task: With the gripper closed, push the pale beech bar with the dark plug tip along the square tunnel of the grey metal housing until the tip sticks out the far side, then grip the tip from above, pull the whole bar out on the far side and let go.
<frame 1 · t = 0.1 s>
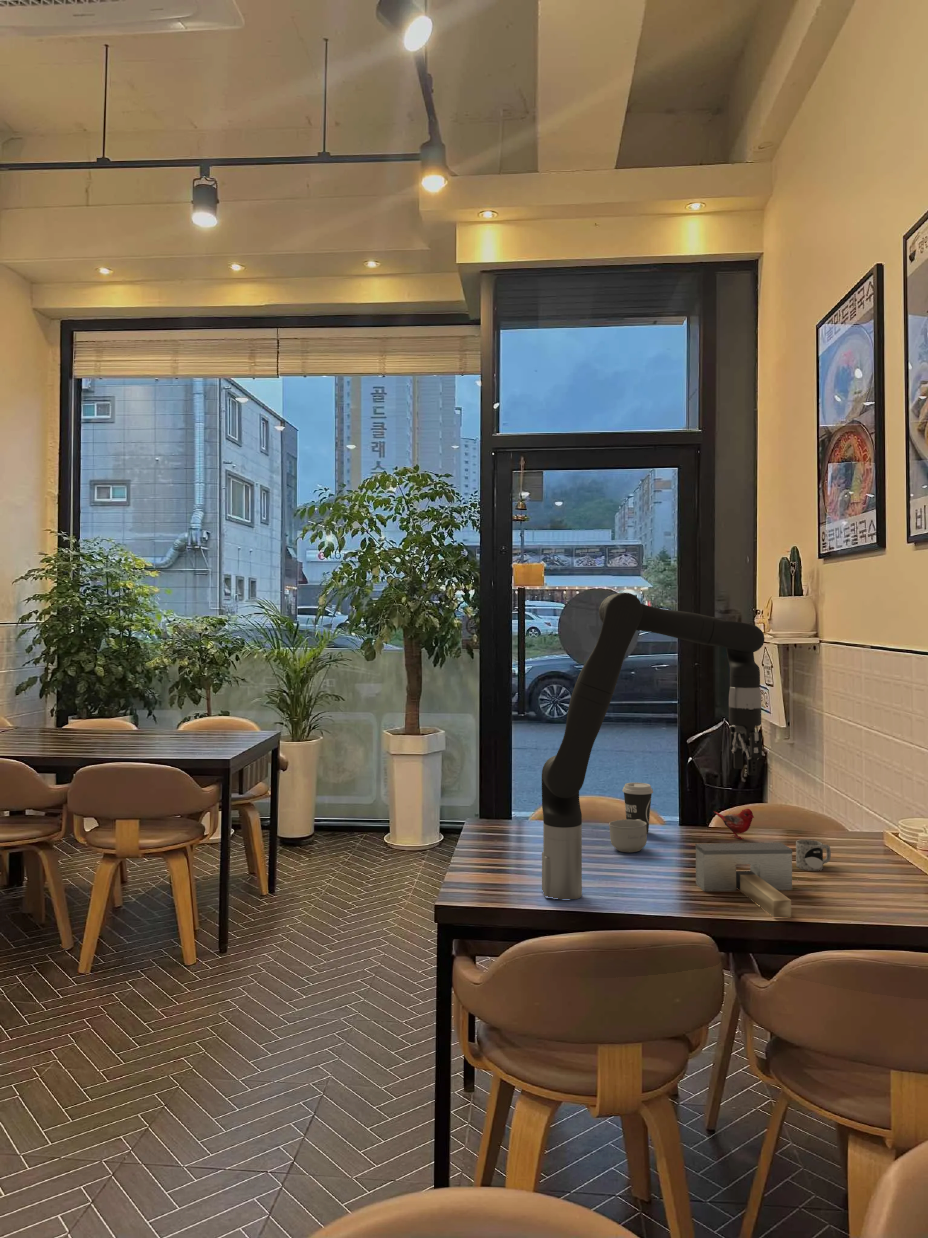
hand: (745, 772, 198), 29 cm above the table, tool pointing down, fingers open, 8 cm apart
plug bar: (761, 902, 191), on the table
decorative bird figurine: (733, 837, 250), on the table
coffee cup: (637, 833, 256), on the table
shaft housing: (743, 887, 202), on the table
teacup: (631, 849, 237), on the table
mug: (814, 867, 219), on the table
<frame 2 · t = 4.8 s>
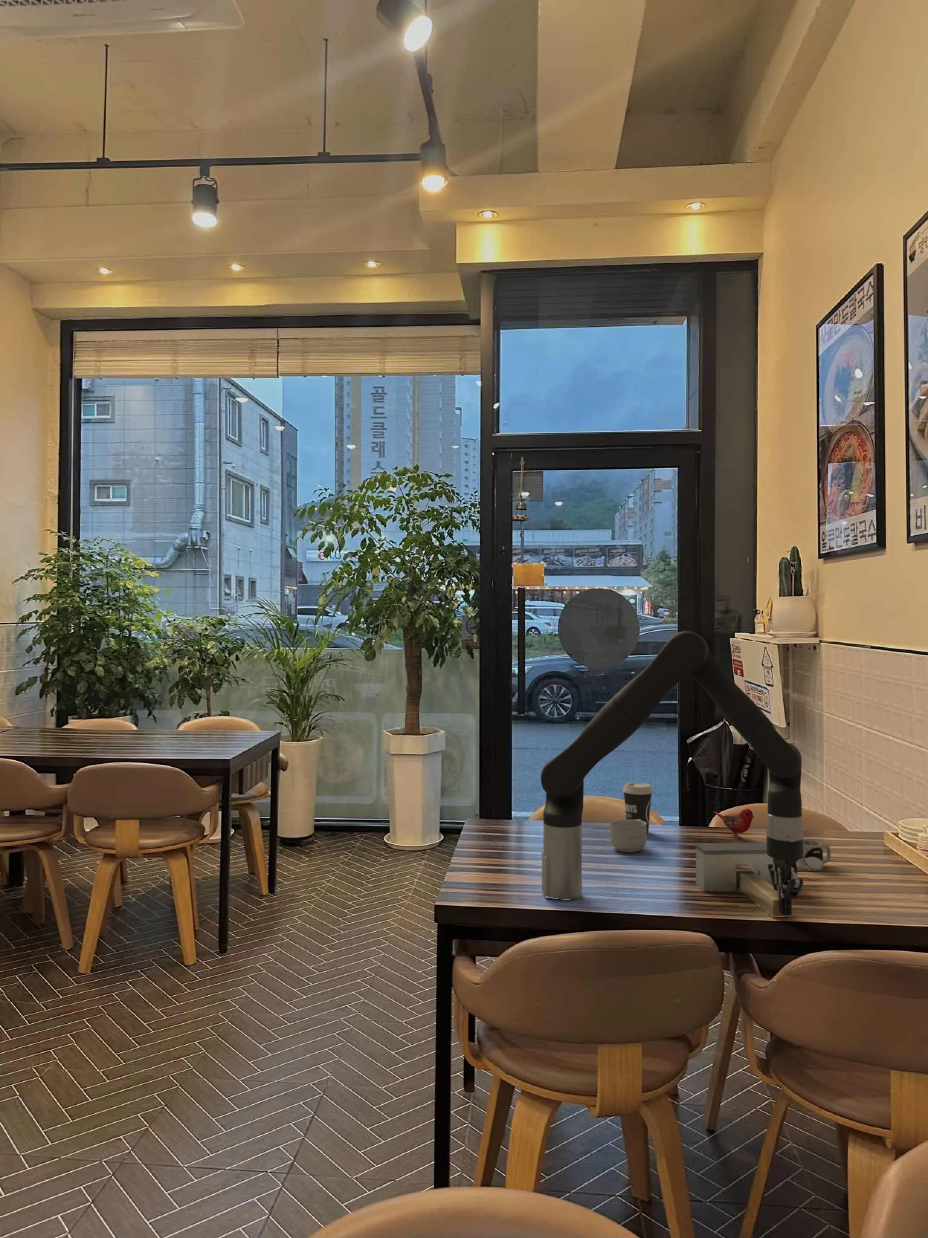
hand: (785, 914, 178), 2 cm above the table, tool pointing down, fingers closed
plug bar: (761, 901, 191), on the table, touching gripper
everything else where it was.
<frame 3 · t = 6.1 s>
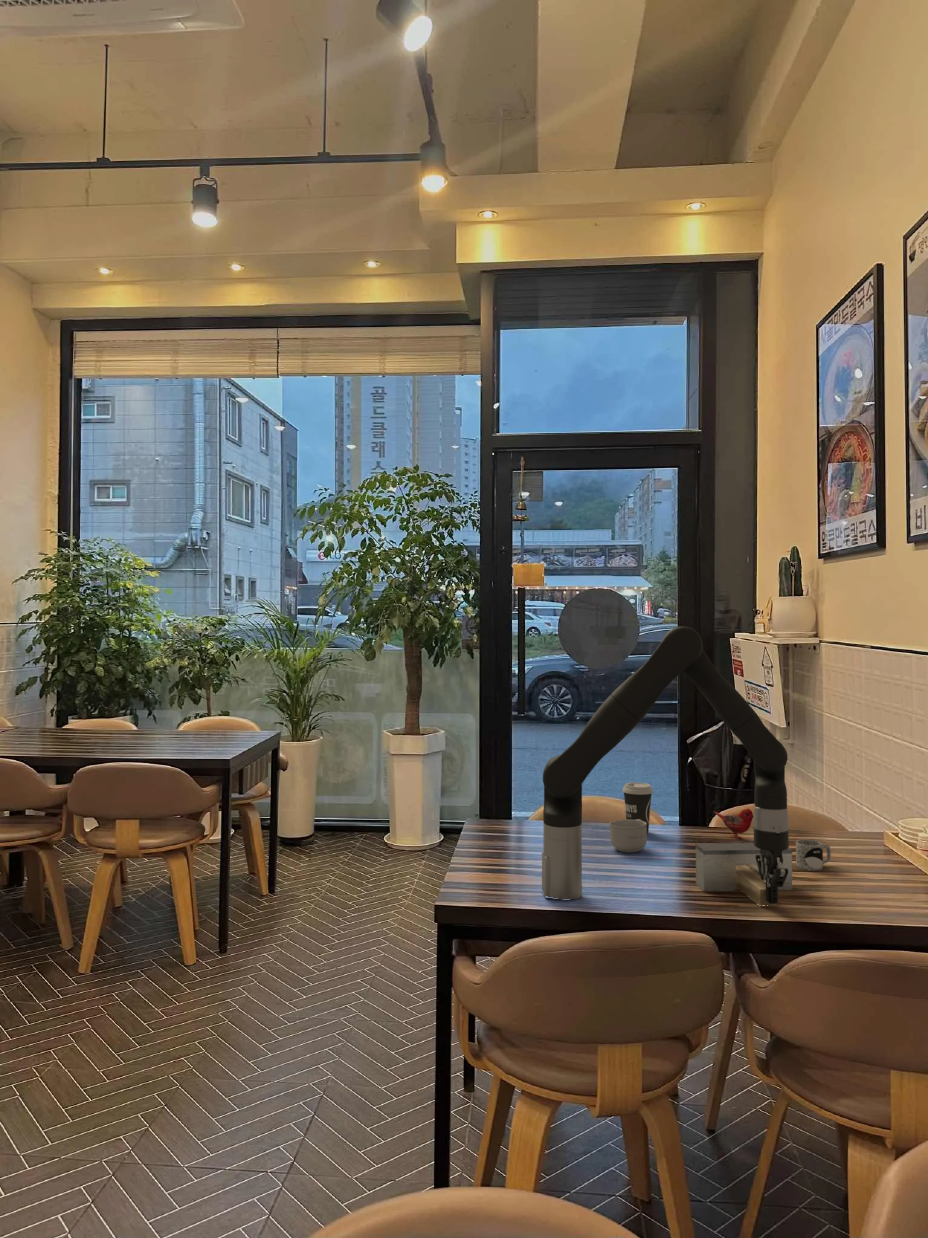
hand: (771, 902, 185), 2 cm above the table, tool pointing down, fingers closed
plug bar: (749, 891, 198), on the table, touching gripper
everything else where it was.
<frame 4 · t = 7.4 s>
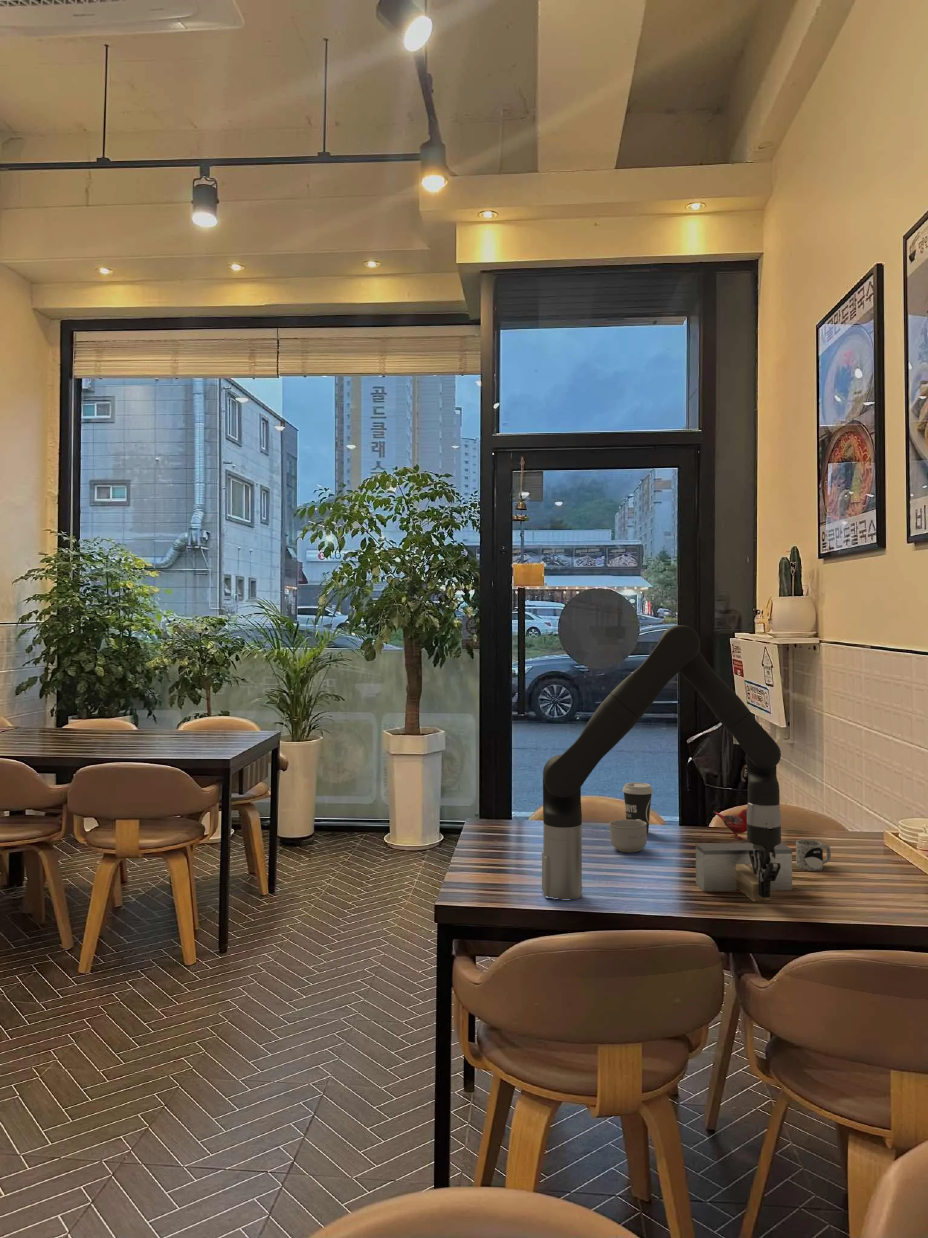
hand: (764, 896, 189), 2 cm above the table, tool pointing down, fingers closed
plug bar: (743, 886, 202), on the table, touching gripper
everything else where it was.
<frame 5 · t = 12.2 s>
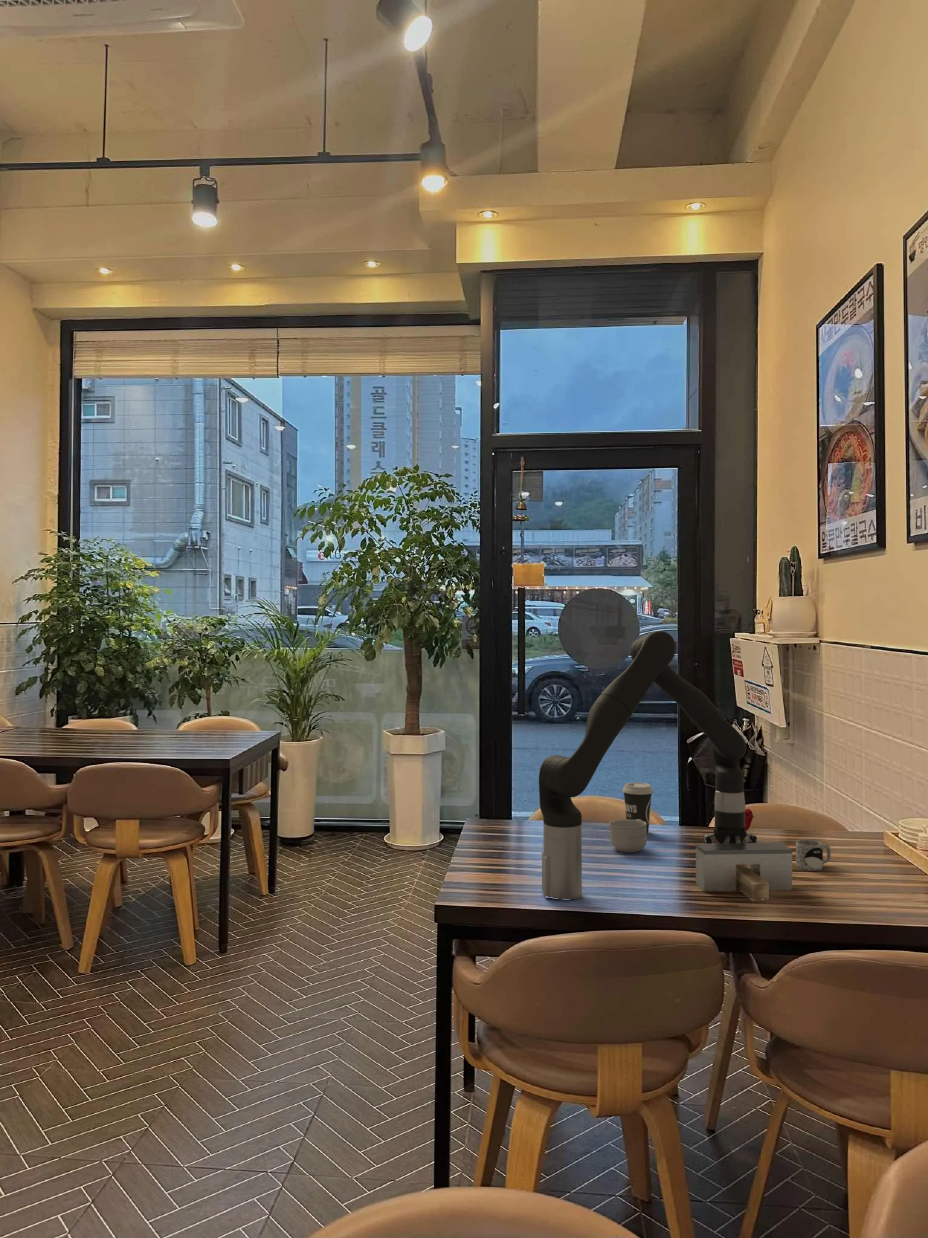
hand: (730, 874, 211), 1 cm above the table, tool pointing down, fingers closed on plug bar, 4 cm apart
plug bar: (742, 886, 202), on the table, touching gripper
everything else where it was.
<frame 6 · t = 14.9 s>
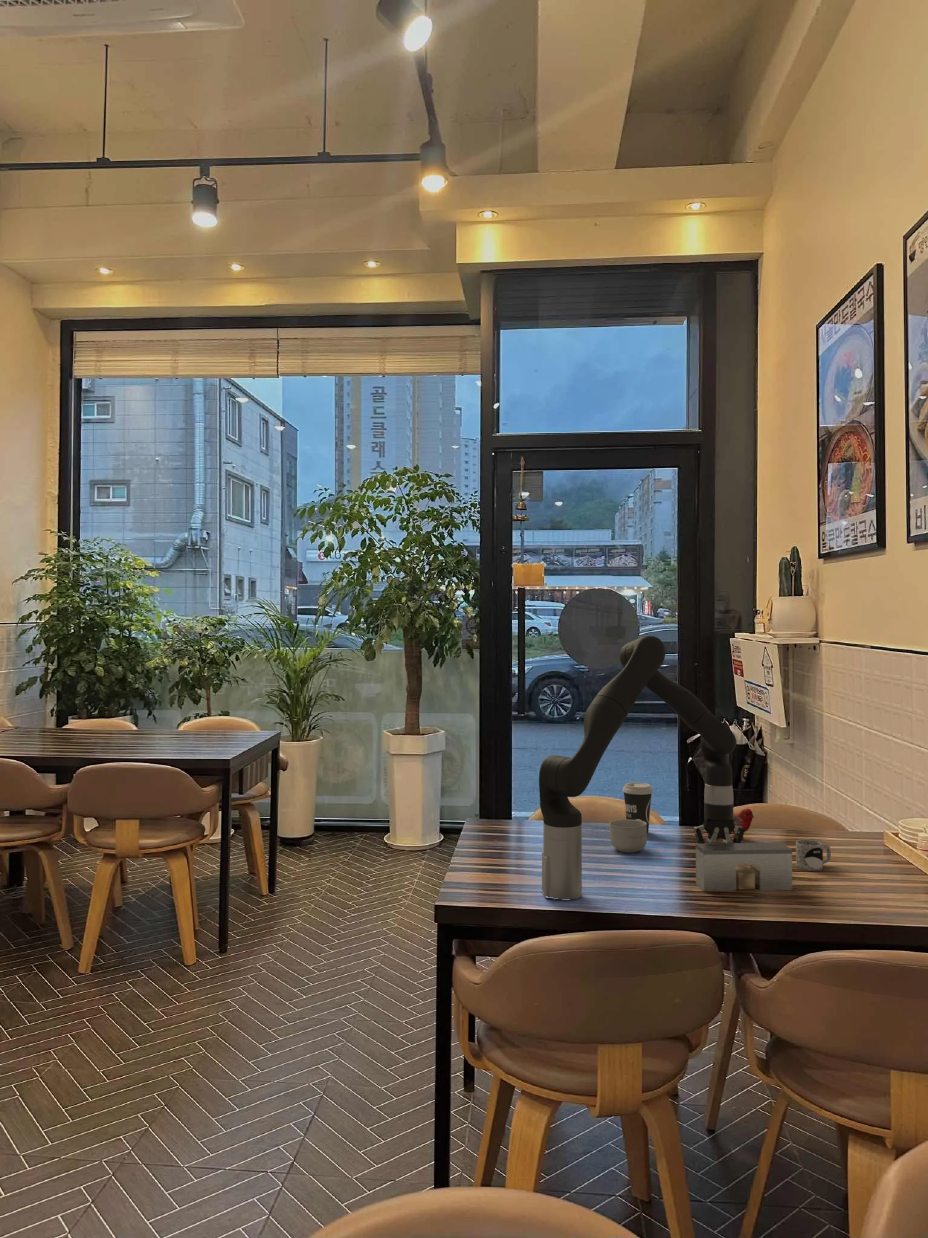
hand: (719, 864, 219), 1 cm above the table, tool pointing down, fingers closed on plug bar, 4 cm apart
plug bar: (730, 875, 211), on the table, touching gripper
everything else where it was.
when the fingers open (1 cm above the table, at t = 17.4 s): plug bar stays where it is, on the table.
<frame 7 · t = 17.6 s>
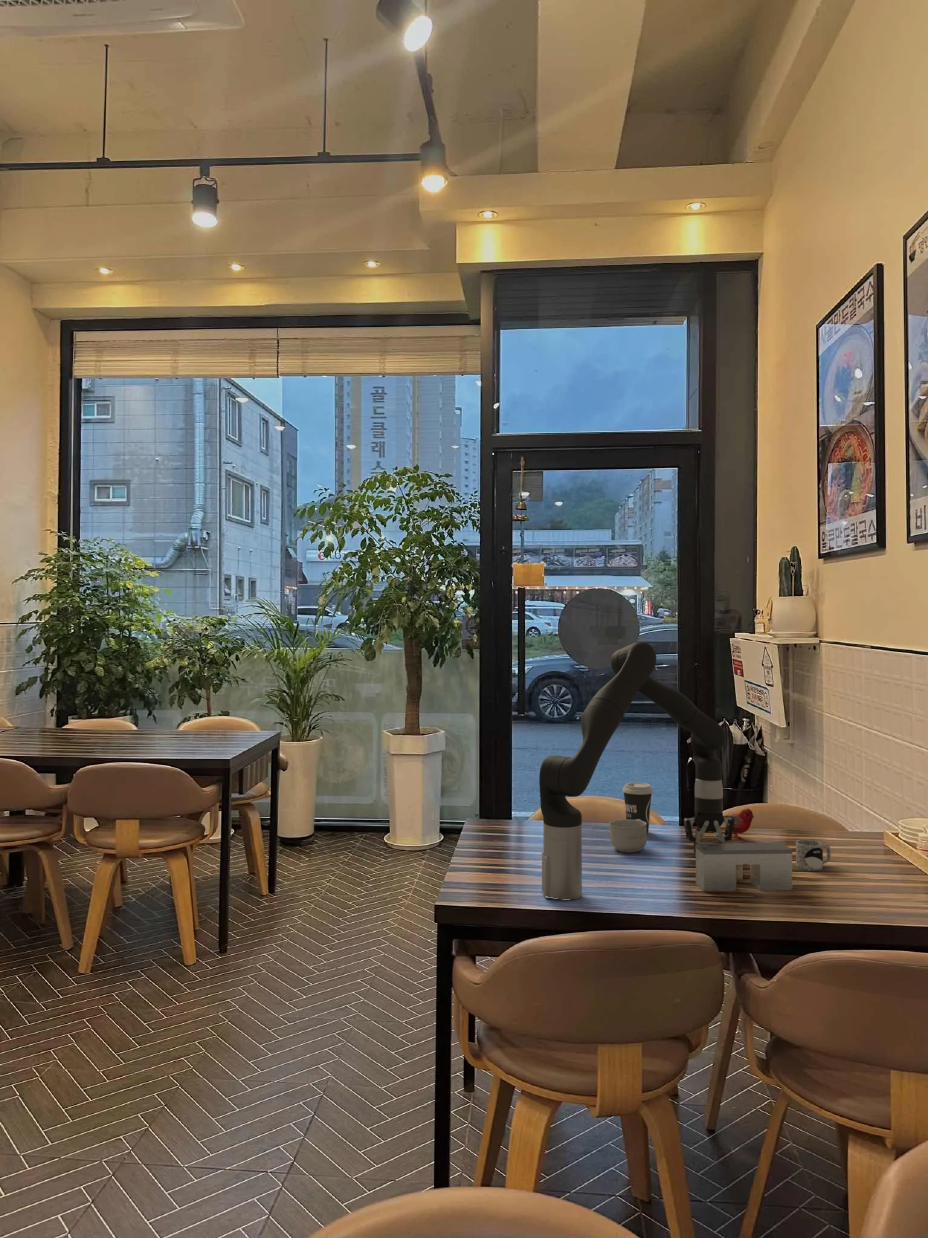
hand: (708, 855, 226), 1 cm above the table, tool pointing down, fingers open, 5 cm apart
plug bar: (719, 868, 218), on the table
everything else where it was.
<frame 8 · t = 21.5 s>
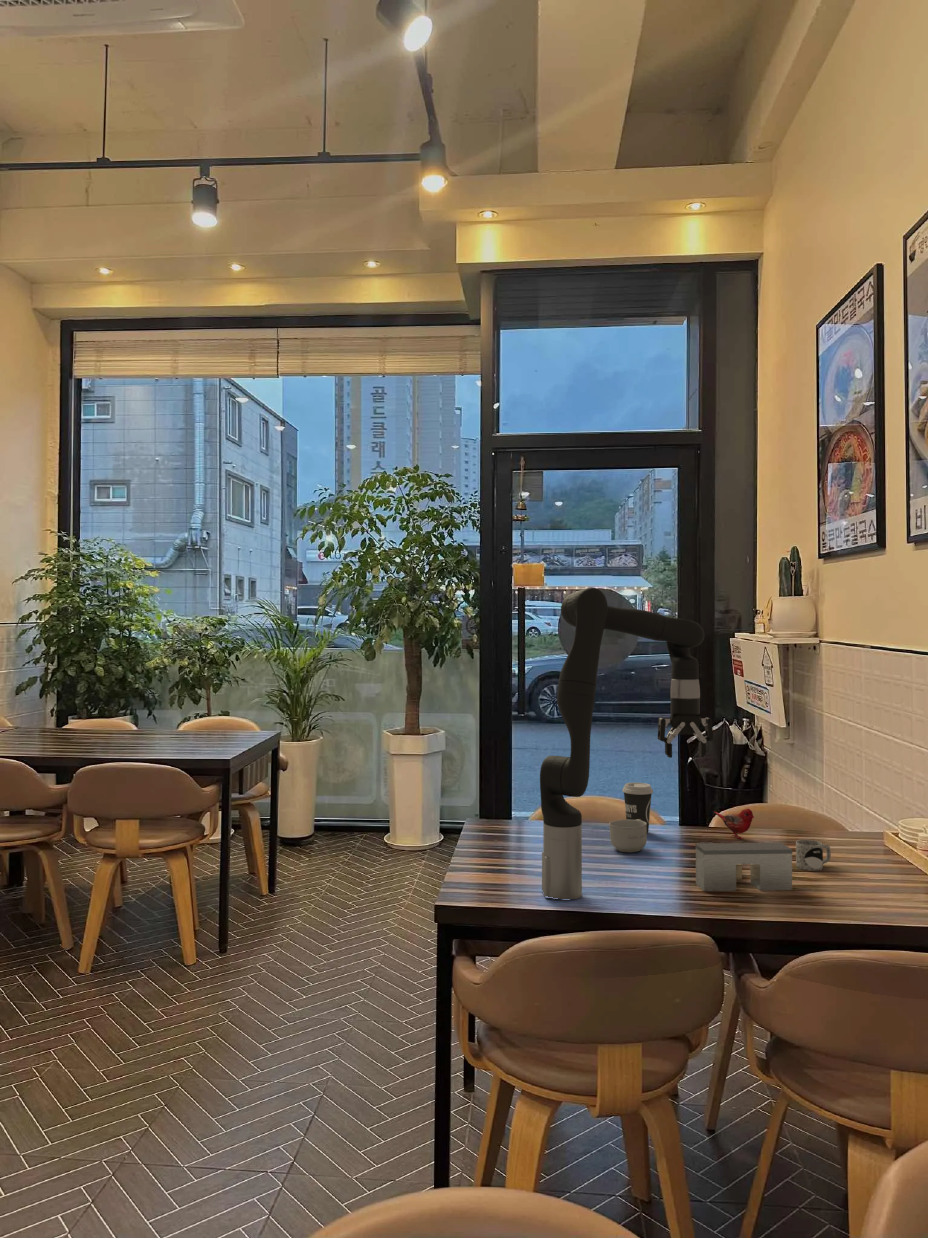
hand: (685, 757, 216), 30 cm above the table, tool pointing down, fingers open, 8 cm apart
nothing on the table moved.
at the end: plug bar inside the target area (1.7 cm from its centre), on the table; the gripper is holding nothing; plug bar tilted 0° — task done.
